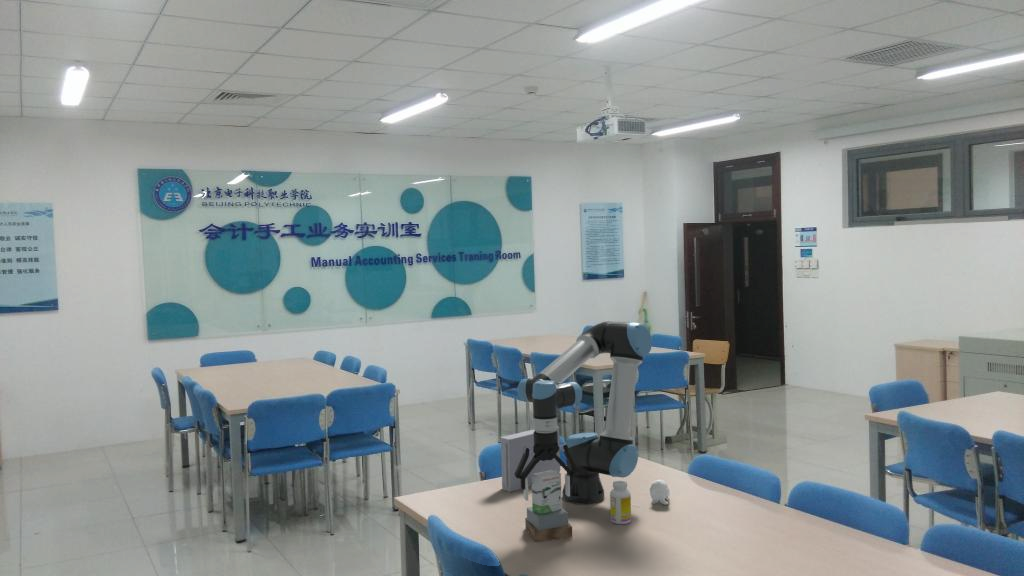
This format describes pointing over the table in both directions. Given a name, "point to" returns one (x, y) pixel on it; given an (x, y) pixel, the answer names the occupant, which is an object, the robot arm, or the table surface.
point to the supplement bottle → (620, 503)
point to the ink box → (546, 492)
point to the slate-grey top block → (547, 519)
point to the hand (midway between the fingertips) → (547, 497)
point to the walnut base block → (548, 532)
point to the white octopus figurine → (659, 492)
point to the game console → (512, 455)
